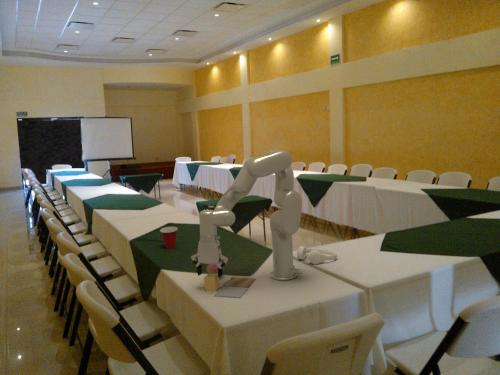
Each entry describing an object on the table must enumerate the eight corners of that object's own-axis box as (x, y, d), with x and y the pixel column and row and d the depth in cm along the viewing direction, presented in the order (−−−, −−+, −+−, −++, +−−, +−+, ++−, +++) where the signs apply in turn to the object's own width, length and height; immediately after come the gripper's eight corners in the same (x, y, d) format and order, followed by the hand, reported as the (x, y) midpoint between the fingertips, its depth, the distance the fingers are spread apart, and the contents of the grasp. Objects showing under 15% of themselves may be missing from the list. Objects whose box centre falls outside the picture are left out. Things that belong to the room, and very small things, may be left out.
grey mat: (248, 288, 186) (248, 287, 186) (240, 298, 176) (240, 297, 176) (222, 286, 190) (222, 286, 190) (213, 296, 179) (213, 295, 179)
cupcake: (219, 281, 197) (218, 256, 195) (203, 279, 200) (201, 255, 198) (227, 275, 205) (225, 251, 203) (211, 273, 208) (210, 250, 206)
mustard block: (219, 287, 190) (218, 274, 189) (215, 291, 185) (214, 278, 184) (209, 286, 191) (208, 273, 190) (204, 290, 186) (204, 277, 186)
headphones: (316, 252, 210) (343, 250, 221) (292, 245, 225) (319, 243, 236) (315, 266, 210) (342, 263, 222) (291, 258, 225) (317, 256, 237)
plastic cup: (157, 249, 256) (156, 230, 254) (166, 244, 266) (165, 226, 264) (174, 250, 252) (172, 231, 251) (182, 245, 263) (180, 226, 261)
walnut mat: (255, 279, 197) (255, 278, 197) (248, 287, 187) (248, 287, 187) (231, 277, 201) (231, 276, 201) (223, 285, 191) (223, 285, 191)
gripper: (230, 237, 186) (231, 274, 188) (194, 235, 191) (195, 271, 193) (224, 241, 179) (225, 280, 181) (187, 239, 184) (188, 276, 186)
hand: (209, 275), depth 187 cm, fingers open, 9 cm apart
